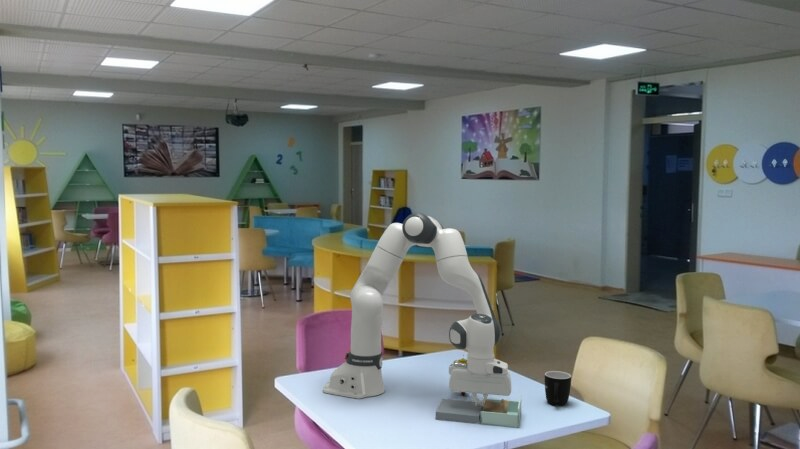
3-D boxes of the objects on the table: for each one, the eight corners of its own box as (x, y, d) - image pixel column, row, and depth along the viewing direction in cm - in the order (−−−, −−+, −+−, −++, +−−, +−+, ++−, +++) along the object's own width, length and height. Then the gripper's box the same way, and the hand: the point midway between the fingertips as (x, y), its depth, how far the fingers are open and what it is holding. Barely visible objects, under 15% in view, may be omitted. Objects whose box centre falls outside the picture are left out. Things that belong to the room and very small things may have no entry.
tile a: (500, 403, 208) (508, 405, 207) (501, 398, 213) (509, 400, 212) (497, 418, 208) (505, 420, 208) (499, 413, 213) (506, 415, 212)
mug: (545, 397, 231) (545, 369, 231) (571, 400, 229) (571, 372, 228) (541, 408, 220) (542, 379, 219) (568, 412, 217) (569, 382, 216)
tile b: (482, 412, 209) (484, 404, 209) (484, 406, 214) (485, 399, 214) (498, 415, 208) (499, 408, 208) (499, 410, 213) (500, 403, 213)
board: (435, 419, 209) (435, 411, 209) (442, 405, 222) (442, 398, 221) (478, 423, 206) (479, 416, 206) (483, 409, 218) (483, 402, 218)
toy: (471, 399, 229) (472, 357, 228) (451, 397, 230) (452, 356, 229) (473, 392, 236) (474, 352, 235) (453, 391, 237) (454, 350, 236)
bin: (480, 423, 206) (480, 405, 205) (484, 409, 218) (485, 392, 218) (518, 427, 203) (519, 409, 202) (521, 413, 215) (521, 395, 215)
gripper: (447, 364, 210) (446, 406, 211) (511, 369, 205) (510, 412, 206) (450, 359, 216) (449, 399, 217) (512, 364, 212) (511, 405, 213)
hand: (479, 406), depth 212 cm, fingers closed
